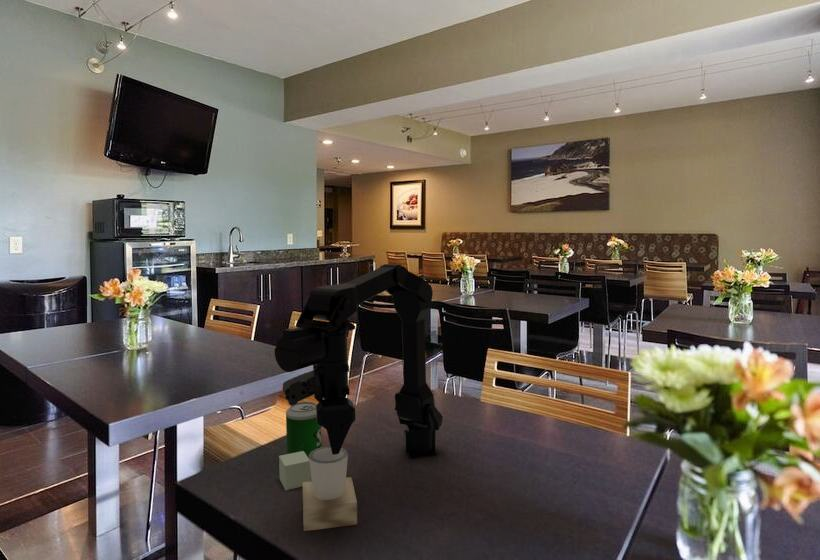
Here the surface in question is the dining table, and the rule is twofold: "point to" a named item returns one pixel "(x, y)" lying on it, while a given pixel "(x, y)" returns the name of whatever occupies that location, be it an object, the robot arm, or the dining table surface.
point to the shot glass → (328, 473)
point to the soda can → (302, 428)
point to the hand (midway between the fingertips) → (333, 442)
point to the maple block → (329, 508)
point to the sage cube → (294, 470)
